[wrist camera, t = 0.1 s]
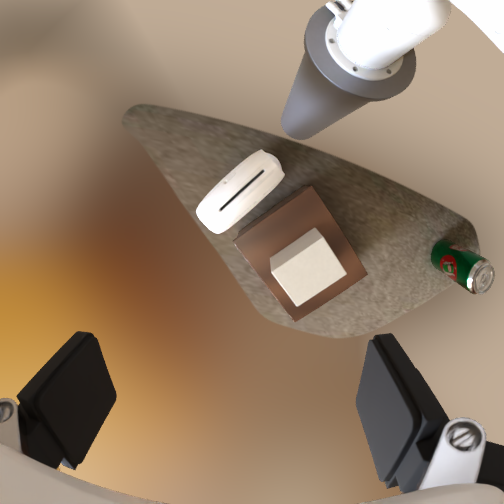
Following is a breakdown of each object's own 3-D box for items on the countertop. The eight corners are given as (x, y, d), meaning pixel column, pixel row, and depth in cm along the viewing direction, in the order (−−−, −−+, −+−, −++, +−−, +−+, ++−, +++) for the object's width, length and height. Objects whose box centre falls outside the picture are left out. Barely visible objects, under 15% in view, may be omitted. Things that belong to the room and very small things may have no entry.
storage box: (236, 231, 41) (232, 241, 35) (304, 183, 39) (312, 185, 33) (291, 302, 44) (294, 322, 38) (354, 260, 41) (368, 274, 36)
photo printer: (228, 222, 40) (214, 246, 29) (207, 199, 40) (184, 214, 28) (285, 172, 38) (295, 174, 26) (263, 148, 38) (263, 139, 26)
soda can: (456, 245, 40) (501, 269, 28) (443, 272, 41) (484, 301, 30) (437, 233, 40) (483, 255, 28) (424, 261, 41) (465, 290, 29)
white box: (269, 257, 35) (270, 272, 31) (314, 227, 34) (323, 236, 29) (292, 289, 36) (297, 307, 32) (336, 259, 35) (347, 274, 30)
